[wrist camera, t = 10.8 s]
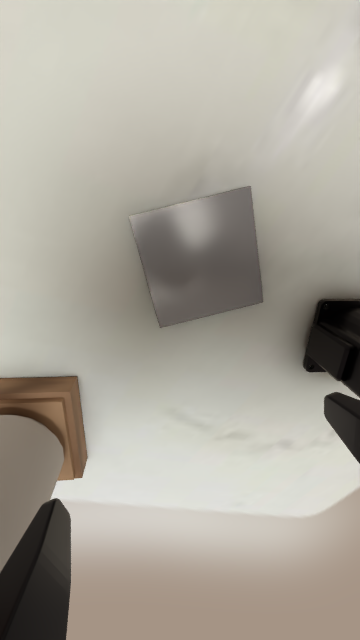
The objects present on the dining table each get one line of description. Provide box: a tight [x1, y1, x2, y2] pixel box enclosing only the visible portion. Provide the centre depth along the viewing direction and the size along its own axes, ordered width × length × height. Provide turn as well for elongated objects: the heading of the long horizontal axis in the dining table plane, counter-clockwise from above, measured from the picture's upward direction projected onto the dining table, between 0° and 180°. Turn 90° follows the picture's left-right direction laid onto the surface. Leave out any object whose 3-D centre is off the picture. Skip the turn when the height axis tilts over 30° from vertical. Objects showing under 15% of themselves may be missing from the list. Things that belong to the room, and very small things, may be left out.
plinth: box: [0, 377, 87, 481], centre depth 21 cm, size 9×9×2 cm
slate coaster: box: [129, 186, 263, 328], centre depth 18 cm, size 8×8×1 cm
